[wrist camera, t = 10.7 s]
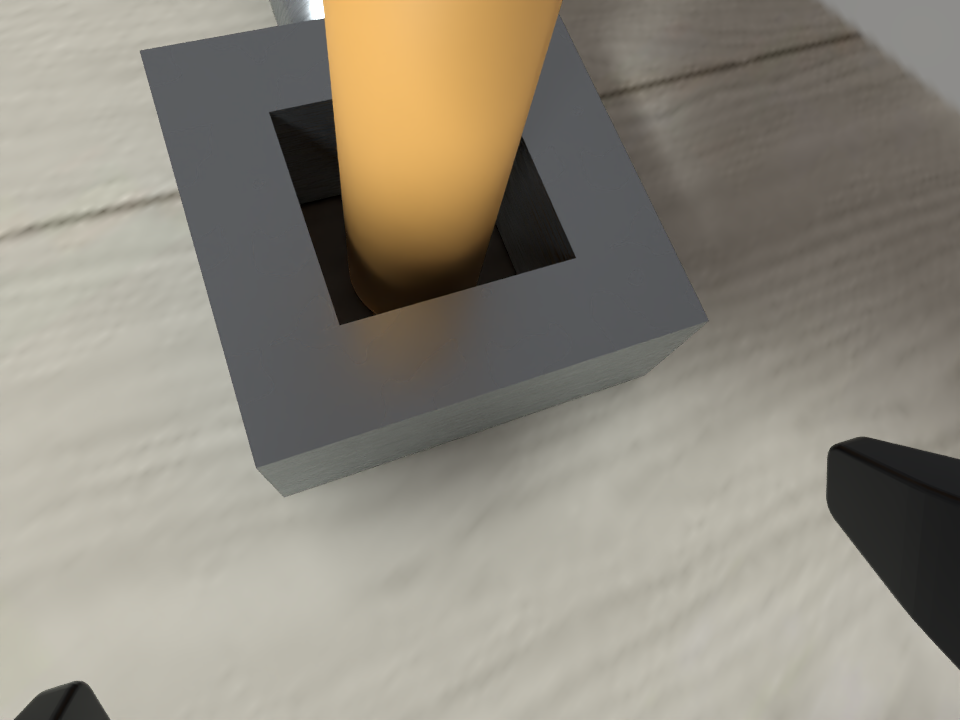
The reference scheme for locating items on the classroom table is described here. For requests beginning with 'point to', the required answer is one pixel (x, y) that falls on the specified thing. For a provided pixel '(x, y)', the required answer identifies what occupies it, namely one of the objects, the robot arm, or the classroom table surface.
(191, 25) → the classroom table surface
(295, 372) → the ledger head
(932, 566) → the robot arm
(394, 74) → the orange cylinder
